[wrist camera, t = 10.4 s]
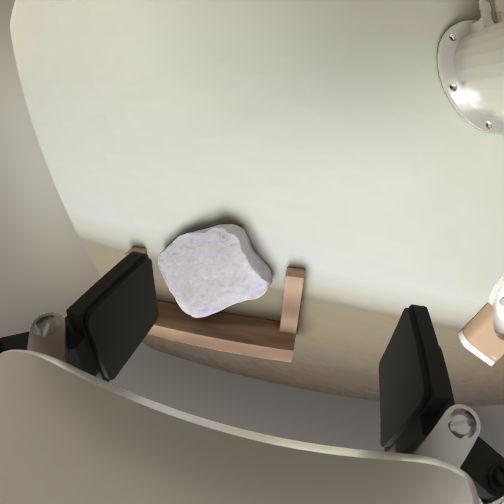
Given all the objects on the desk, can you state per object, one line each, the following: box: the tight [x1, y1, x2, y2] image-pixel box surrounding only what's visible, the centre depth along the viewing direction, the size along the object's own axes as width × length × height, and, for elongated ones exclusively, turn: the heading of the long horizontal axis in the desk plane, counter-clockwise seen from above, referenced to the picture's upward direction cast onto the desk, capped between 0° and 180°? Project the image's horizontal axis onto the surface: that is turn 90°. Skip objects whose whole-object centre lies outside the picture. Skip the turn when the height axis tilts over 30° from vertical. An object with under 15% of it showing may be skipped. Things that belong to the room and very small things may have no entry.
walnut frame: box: [125, 247, 305, 362], centre depth 36 cm, size 10×22×5 cm, turn 88°
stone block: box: [158, 224, 272, 318], centre depth 36 cm, size 12×5×10 cm
